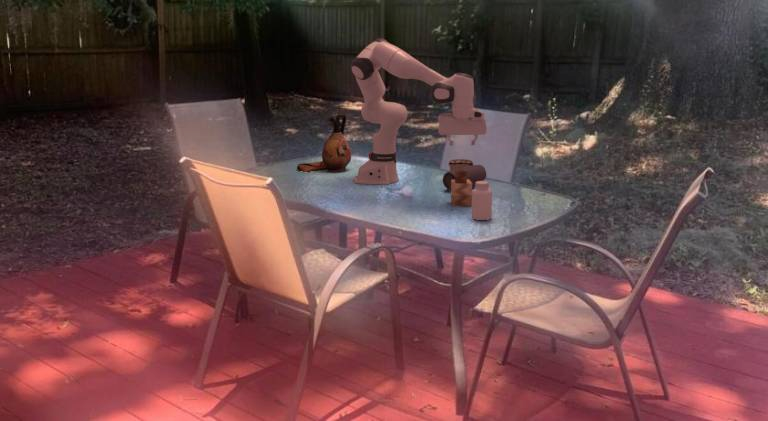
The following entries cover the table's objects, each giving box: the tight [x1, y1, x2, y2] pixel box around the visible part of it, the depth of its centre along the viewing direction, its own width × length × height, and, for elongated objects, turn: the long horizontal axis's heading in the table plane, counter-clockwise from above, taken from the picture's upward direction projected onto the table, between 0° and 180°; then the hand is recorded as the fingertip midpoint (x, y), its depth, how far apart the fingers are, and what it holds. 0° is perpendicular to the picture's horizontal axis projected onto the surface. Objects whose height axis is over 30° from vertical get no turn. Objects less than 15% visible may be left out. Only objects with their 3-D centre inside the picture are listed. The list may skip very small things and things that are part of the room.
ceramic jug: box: [321, 113, 352, 173], centre depth 358 cm, size 17×15×30 cm
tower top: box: [450, 179, 473, 196], centre depth 293 cm, size 8×8×5 cm
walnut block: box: [455, 169, 467, 183], centre depth 292 cm, size 4×4×5 cm
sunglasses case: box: [296, 160, 328, 173], centre depth 364 cm, size 18×7×7 cm, turn 126°
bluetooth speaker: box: [442, 164, 487, 191], centre depth 322 cm, size 23×9×10 cm, turn 135°
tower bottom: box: [450, 191, 472, 207], centre depth 295 cm, size 8×8×5 cm
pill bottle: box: [471, 180, 493, 221], centre depth 272 cm, size 8×8×15 cm
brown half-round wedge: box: [447, 158, 474, 171], centre depth 337 cm, size 12×6×10 cm, turn 84°
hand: (462, 145), depth 290 cm, fingers open, 8 cm apart
